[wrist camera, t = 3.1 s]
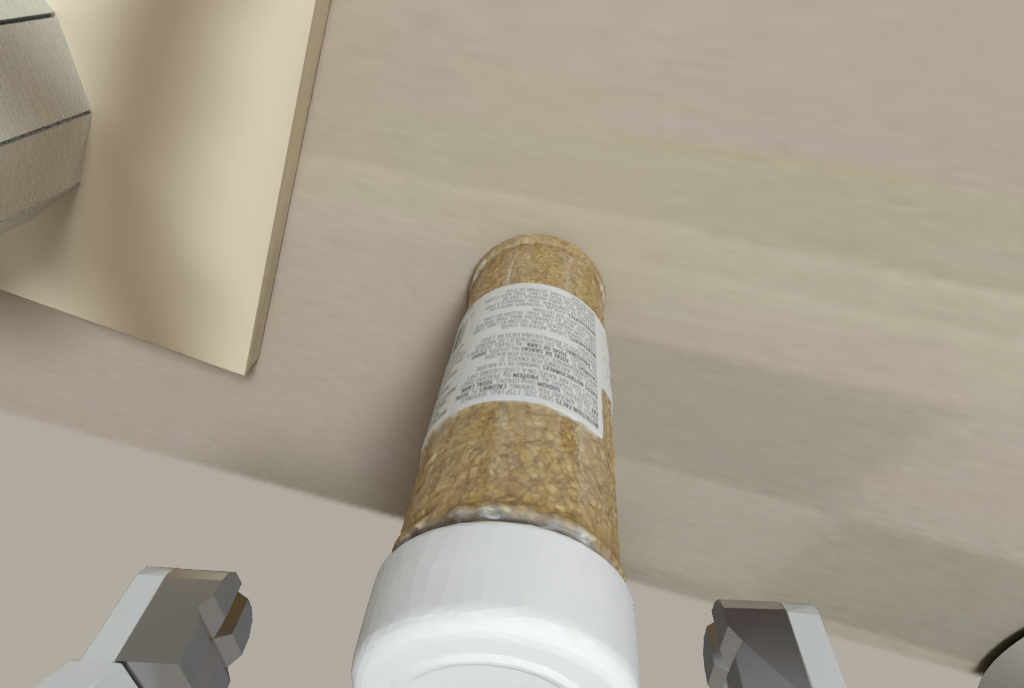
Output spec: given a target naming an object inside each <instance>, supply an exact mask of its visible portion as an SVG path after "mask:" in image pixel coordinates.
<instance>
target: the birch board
mask: <svg viewBox="0 0 1024 688" xmlns="http://www.w3.org/2000/svg"><path fill="white" fill-rule="evenodd" d="M45 1H46V2H47V3H48V4H49V6H50V7H51V8H52V9H53V10H54V11H55V12H54V13H53V14H52V15H51V16H57V17H58V19H59V22H60V25H61V27H62V30H63V33H64V36H65V38H66V41H67V44H68V47H69V49H70V52H71V55H72V58H73V60H74V63H75V66H76V69H77V71H78V74H79V77H80V80H81V82H82V85H83V88H84V91H85V93H86V96H87V99H88V102H89V104H90V107H91V110H89V111H88V112H90V113H92V115H91V121H90V127H89V133H88V139H87V146H86V152H85V158H84V164H83V170H82V176H81V182H79V183H78V184H79V185H78V186H76V187H75V188H74V189H72V190H71V191H69V192H68V193H67V194H65V195H64V196H63V197H61V198H60V199H59V200H57V201H56V202H55V203H53V204H52V205H51V206H49V207H48V208H47V209H45V210H44V211H43V212H41V213H40V214H39V215H37V216H36V217H34V218H33V219H31V220H29V221H27V222H25V223H24V224H22V225H20V226H18V227H16V228H14V229H12V230H10V231H8V232H6V233H4V234H3V235H1V236H0V289H1V290H3V291H6V292H9V293H12V294H15V295H18V296H20V297H23V298H26V299H29V300H32V301H35V302H37V303H40V304H43V305H46V306H49V307H51V308H54V309H57V310H60V311H63V312H66V313H68V314H71V315H74V316H77V317H80V318H83V319H85V320H88V321H91V322H94V323H97V324H100V325H102V326H105V327H108V328H111V329H114V330H117V331H119V332H122V333H125V334H128V335H131V336H133V337H136V338H139V339H142V340H145V341H148V342H150V343H153V344H156V345H159V346H162V347H165V348H167V349H170V350H173V351H176V352H179V353H182V354H184V355H187V356H190V357H193V358H196V359H198V360H201V361H204V362H207V363H210V364H213V365H215V366H218V367H221V368H224V369H227V370H230V371H232V372H235V373H238V374H241V375H244V376H245V374H246V373H247V372H248V370H249V369H250V368H251V366H252V365H253V364H254V362H255V361H256V360H257V358H258V357H259V353H260V348H261V343H262V338H263V333H264V328H265V323H266V318H267V313H268V308H269V303H270V298H271V293H272V289H273V284H274V279H275V274H276V269H277V264H278V259H279V254H280V249H281V244H282V239H283V234H284V229H285V224H286V219H287V214H288V209H289V205H290V200H291V195H292V190H293V185H294V180H295V175H296V170H297V165H298V160H299V155H300V150H301V145H302V140H303V135H304V130H305V125H306V121H307V116H308V111H309V106H310V101H311V96H312V91H313V86H314V81H315V76H316V71H317V66H318V61H319V56H320V51H321V46H322V41H323V37H324V32H325V27H326V22H327V17H328V12H329V7H330V2H331V0H45Z"/></svg>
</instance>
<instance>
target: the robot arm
mask: <svg viewBox="0 0 1024 688" xmlns="http://www.w3.org/2000/svg"><path fill="white" fill-rule="evenodd" d="M240 586H241V581H240V579H239V577H238V575H237V574H236V572H225V571H208V570H192V569H179V568H166V567H145V568H144V569H143V570H142V571H141V572H139V573H138V574H137V575H136V576H135V578H134V579H133V581H132V582H131V584H130V585H129V587H128V588H127V590H126V591H125V593H124V595H123V596H122V597H121V599H120V601H119V602H118V604H117V605H116V607H115V608H114V610H113V611H112V613H111V614H110V616H109V617H108V619H107V620H106V622H105V623H104V625H103V627H102V628H101V630H100V631H99V633H98V635H97V636H96V637H95V639H94V641H93V642H92V643H91V645H90V647H89V648H88V650H87V651H86V653H85V654H84V656H83V657H82V659H81V660H71V661H70V662H68V663H67V664H65V665H64V666H63V667H61V668H60V669H58V670H57V671H56V672H54V673H53V674H52V675H50V676H49V677H47V678H46V679H45V680H44V681H42V682H41V683H39V684H38V685H37V686H35V687H34V688H228V685H229V683H230V677H229V673H228V668H227V667H228V666H229V665H230V664H231V663H233V662H234V661H235V660H236V659H237V658H238V657H240V656H241V655H242V653H243V650H244V648H245V646H246V643H247V641H248V638H249V634H250V629H251V624H252V609H251V608H252V607H251V605H250V602H249V600H248V598H246V597H245V596H243V595H242V594H240V593H239V592H238V590H239V588H240ZM712 615H713V619H714V622H713V623H712V624H710V625H709V626H707V628H706V632H705V636H704V648H703V657H704V667H705V673H706V679H707V684H708V686H709V687H710V688H847V686H846V684H845V681H844V679H843V676H842V674H841V671H840V668H839V665H838V663H837V660H836V657H835V655H834V652H833V649H832V647H831V644H830V641H829V639H828V636H827V633H826V631H825V628H824V625H823V623H822V620H821V617H820V615H819V612H818V611H817V610H816V609H815V607H814V606H813V605H810V604H802V603H780V602H774V601H748V600H722V599H718V600H717V601H716V602H715V603H714V606H713V609H712ZM978 688H1024V637H1023V638H1022V639H1020V640H1019V641H1017V642H1016V643H1015V644H1013V645H1012V646H1011V647H1009V648H1008V649H1007V650H1006V651H1004V652H1003V653H1002V654H1001V655H1000V656H999V657H998V658H997V659H996V660H995V661H994V662H993V663H992V664H991V665H990V666H989V668H988V669H987V671H986V672H985V673H984V675H983V677H982V679H981V681H980V684H979V686H978Z"/></svg>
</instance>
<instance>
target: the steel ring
mask: <svg viewBox="0 0 1024 688" xmlns="http://www.w3.org/2000/svg"><path fill="white" fill-rule="evenodd" d="M54 12H55V11H54V10H53V9H52V8H51V7H50V6H49V4H48V3H47V2H46V1H45V0H0V236H1V235H3V234H4V233H6V232H8V231H10V230H12V229H14V228H16V227H18V226H20V225H22V224H24V223H25V222H27V221H29V220H31V219H33V218H34V217H36V216H37V215H39V214H40V213H41V212H43V211H44V210H45V209H47V208H48V207H49V206H51V205H52V204H53V203H55V202H56V201H57V200H59V199H60V198H61V197H63V196H64V195H65V194H67V193H68V192H69V191H71V190H72V189H74V188H75V187H76V186H78V185H79V184H78V183H79V182H81V176H82V170H83V164H84V158H85V152H86V146H87V139H88V133H89V127H90V121H91V115H92V113H90V112H88V111H89V110H91V107H90V104H89V102H88V99H87V96H86V93H85V91H84V88H83V85H82V82H81V80H80V77H79V74H78V71H77V69H76V66H75V63H74V60H73V58H72V55H71V52H70V49H69V47H68V44H67V41H66V38H65V36H64V33H63V30H62V27H61V25H60V22H59V19H58V17H57V16H51V15H52V14H53V13H54Z"/></svg>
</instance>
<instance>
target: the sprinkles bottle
mask: <svg viewBox="0 0 1024 688" xmlns="http://www.w3.org/2000/svg"><path fill="white" fill-rule="evenodd" d="M605 297H606V294H605V287H604V284H603V281H602V278H601V275H600V273H599V272H598V270H597V268H596V266H595V265H594V263H593V262H592V261H591V260H590V259H589V258H588V256H587V255H586V254H585V253H583V252H582V251H581V250H580V249H579V248H578V247H577V246H576V245H574V244H572V243H569V242H566V241H563V240H561V239H558V238H556V237H551V236H546V235H536V234H534V235H520V236H518V237H515V238H512V239H509V240H507V241H505V242H503V243H501V244H500V245H498V246H496V247H494V248H493V249H492V250H491V251H490V252H489V253H488V254H486V255H485V256H484V257H483V259H482V260H481V261H480V262H479V264H478V265H477V268H476V270H475V273H474V274H473V276H472V280H471V284H470V288H469V300H470V301H469V304H468V308H467V312H466V314H465V316H464V317H463V319H462V321H461V323H460V325H459V328H458V331H457V334H456V337H455V340H454V344H453V347H452V350H451V354H450V357H449V361H448V364H447V367H446V371H445V374H444V377H443V380H442V384H441V387H440V391H439V394H438V397H437V401H436V404H435V407H434V411H433V414H432V417H431V420H430V424H429V427H428V430H427V434H426V437H425V440H424V443H423V447H422V450H421V456H420V467H419V471H418V475H417V479H416V482H415V485H414V488H413V492H412V496H411V500H410V504H409V507H408V509H407V512H406V515H405V520H404V524H403V527H402V530H401V535H400V536H399V538H398V539H397V541H396V542H395V544H394V547H393V550H392V554H391V555H389V556H388V558H387V559H386V560H385V561H384V563H383V565H382V566H381V568H380V570H379V571H378V574H377V577H376V580H375V583H374V587H373V590H372V593H371V596H370V599H369V603H368V606H367V609H366V613H365V616H364V620H363V624H362V627H361V631H360V634H359V639H358V642H357V646H356V649H355V653H354V658H353V663H352V670H351V671H352V685H353V688H640V677H639V661H638V646H637V635H636V624H635V613H634V604H633V600H632V596H631V594H630V592H629V590H628V588H627V586H626V584H625V581H626V577H625V575H624V573H623V571H622V570H621V568H620V562H619V558H620V551H619V543H618V520H617V506H616V493H615V484H616V482H615V474H614V459H615V456H614V452H613V441H612V423H611V420H612V412H613V403H612V390H611V377H610V364H609V351H608V343H607V337H606V334H605V331H604V318H603V310H604V306H605Z"/></svg>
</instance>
